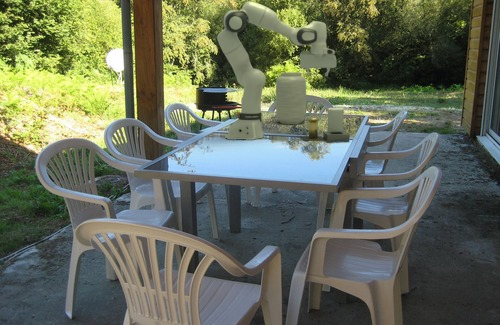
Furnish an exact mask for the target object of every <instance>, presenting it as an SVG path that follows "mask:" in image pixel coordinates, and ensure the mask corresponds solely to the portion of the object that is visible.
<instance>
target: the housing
mask: <svg viewBox="0 0 500 325" xmlns="http://www.w3.org/2000/svg"><path fill="white" fill-rule="evenodd" d="M322 133H323V134H322V137H323V138H324V139H325V140H324V141H325V142H326V143H350V134H349V133H348V132H346V131H345V130H343V131H328V130H327V131H325V130H324V131H323V132H322Z"/></svg>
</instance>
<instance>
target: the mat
mask: <svg viewBox="0 0 500 325" xmlns="http://www.w3.org/2000/svg"><path fill="white" fill-rule="evenodd" d="M300 138H301V140H302V141H303V142H309V141H310V142H313V141H314V142H315V141H316V142H318V141H319V142H320V141H325V139H324V138H323V135H318V138H316V139H310V138H309V135H308V136H307V135H304V136H303V135H302V136H301V135H300Z"/></svg>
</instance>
